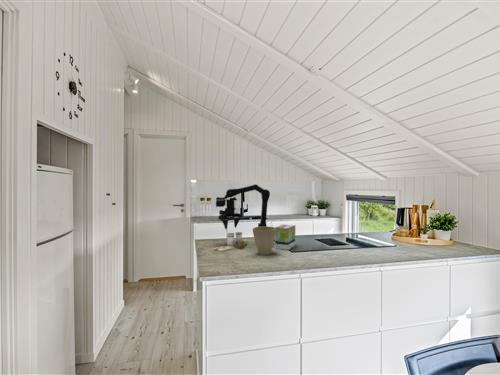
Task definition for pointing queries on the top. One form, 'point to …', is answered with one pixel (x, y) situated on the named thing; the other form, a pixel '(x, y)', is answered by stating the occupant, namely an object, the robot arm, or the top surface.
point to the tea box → (285, 237)
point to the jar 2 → (238, 236)
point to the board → (223, 248)
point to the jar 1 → (230, 240)
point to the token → (239, 244)
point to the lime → (245, 241)
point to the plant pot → (264, 239)
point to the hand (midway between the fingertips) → (230, 228)
